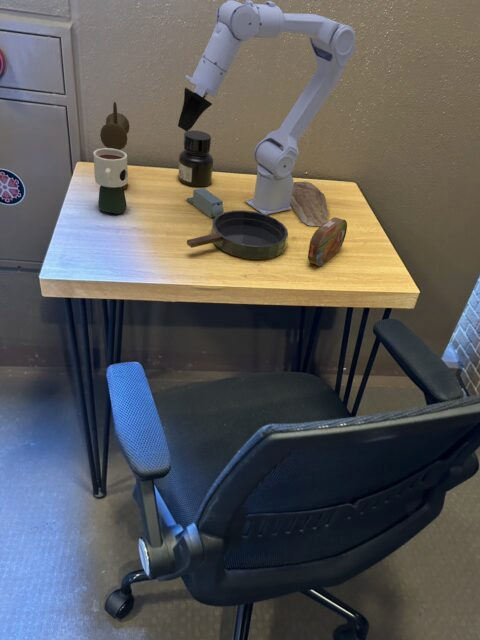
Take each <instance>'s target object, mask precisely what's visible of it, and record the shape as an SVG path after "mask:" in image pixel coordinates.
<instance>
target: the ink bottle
mask: <svg viewBox="0 0 480 640" xmlns="http://www.w3.org/2000/svg"><path fill="white" fill-rule="evenodd" d="M211 143H212V136H211V135H210V134H209V133H207V132H204V131H202V130H188V131H187V132H186V131H185V132H184V134H183V150H182V151H181V152H180V153H179V155H178V180H179V182H181V183H182V184H183V185H186V186H189V187H207V186H209V185H210V184H211V183H212V178H213V165H214V158H213V156H212V155H211V153H210V151H211Z"/></svg>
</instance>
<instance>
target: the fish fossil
mask: <svg viewBox="0 0 480 640" xmlns="http://www.w3.org/2000/svg"><path fill="white" fill-rule="evenodd" d="M290 207H292V208H291V209H293V211H294V213H295V215H296V216H297V217H298V219H299V220H300V222H301V223H303V224H305V225H306V226H310V227H315V226H316V227H321V226H322V225H324V224H325V223H326V222H327V221H328V207H327V199H326V195H325V193H324V192H323V191H321V190H320V189H319V188H318V187H317V186H316V185H315V184H313V183H311V182H310V181H293V191H292V196H291V201H290Z"/></svg>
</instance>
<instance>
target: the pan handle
mask: <svg viewBox="0 0 480 640" xmlns="http://www.w3.org/2000/svg"><path fill="white" fill-rule="evenodd" d="M218 241H222V236H221V235H220V234H218V233H215V234H212V233H211V234H206V235H203V236H199V237H194V238H189V239H186V245H187V246H189V248H191V249H192V248H197V247H202V246H205V245H209V244H214V242H218Z"/></svg>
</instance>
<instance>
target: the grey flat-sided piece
mask: <svg viewBox="0 0 480 640" xmlns="http://www.w3.org/2000/svg"><path fill="white" fill-rule="evenodd" d="M192 193H193V194H192V197H187V198H186V202H188V203H189V204H190V205H193V206H194V207H195V208H197V209H198V210H199V211H201V212H202V213H203V214H205V215H206V216H207V217H208V218H210V219H214V218H215V217H216V216H217V215H220V214H222V213H224V212H225V211H224V205H223V204H224V201H223V200H222V199H221V198H219V197H217V196H216V195H215V194H213V193H212V192H211V191H209V190H208V189H207V188H205V187H202V188H195V189H193V191H192Z"/></svg>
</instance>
